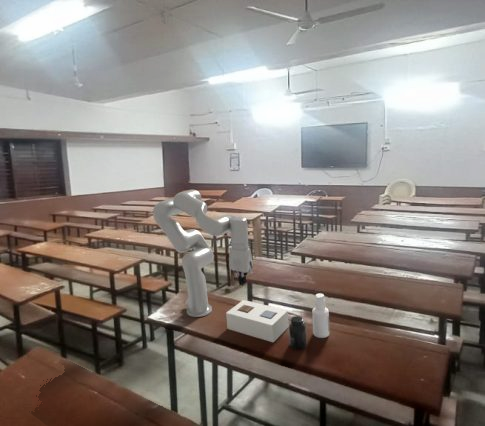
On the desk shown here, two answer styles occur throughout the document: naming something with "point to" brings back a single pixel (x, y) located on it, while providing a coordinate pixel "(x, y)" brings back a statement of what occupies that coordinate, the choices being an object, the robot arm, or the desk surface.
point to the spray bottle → (320, 317)
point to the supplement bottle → (297, 333)
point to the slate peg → (268, 314)
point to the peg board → (258, 321)
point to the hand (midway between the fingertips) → (242, 283)
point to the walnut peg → (245, 308)
